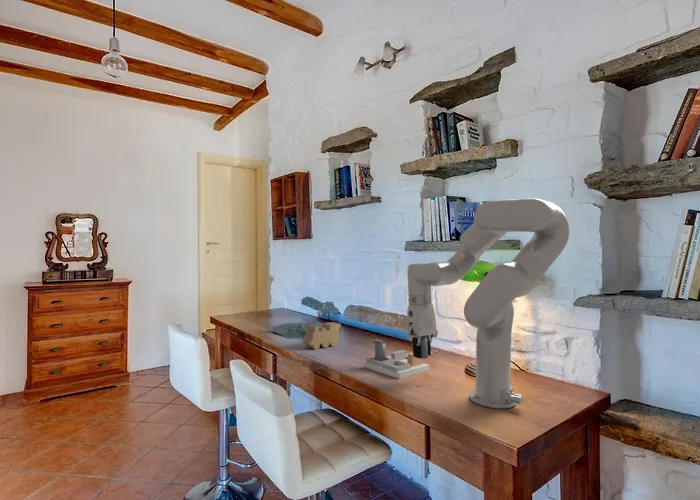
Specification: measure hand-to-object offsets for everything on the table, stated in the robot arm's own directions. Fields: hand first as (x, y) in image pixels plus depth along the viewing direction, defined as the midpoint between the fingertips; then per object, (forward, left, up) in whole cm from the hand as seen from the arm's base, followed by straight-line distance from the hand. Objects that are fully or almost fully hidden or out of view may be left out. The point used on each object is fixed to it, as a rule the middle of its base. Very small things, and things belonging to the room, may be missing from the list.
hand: (422, 355), depth 132 cm
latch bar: (+10, -8, -7) cm, 14 cm away
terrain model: (+88, -13, -9) cm, 89 cm away
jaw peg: (0, 0, -1) cm, 1 cm away
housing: (+15, -4, -9) cm, 18 cm away
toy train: (+58, -2, -9) cm, 59 cm away
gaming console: (+26, -27, -9) cm, 39 cm away
